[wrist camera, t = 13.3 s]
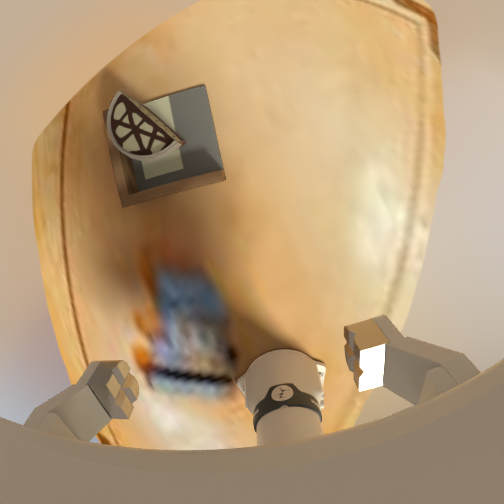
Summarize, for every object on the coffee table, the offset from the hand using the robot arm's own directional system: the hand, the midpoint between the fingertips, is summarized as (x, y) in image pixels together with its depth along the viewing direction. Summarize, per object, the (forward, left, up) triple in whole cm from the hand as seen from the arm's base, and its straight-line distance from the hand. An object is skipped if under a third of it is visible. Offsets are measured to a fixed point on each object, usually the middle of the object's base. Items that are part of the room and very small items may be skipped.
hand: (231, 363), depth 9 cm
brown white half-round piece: (+14, +12, -37) cm, 41 cm away
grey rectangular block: (+13, +10, -37) cm, 41 cm away
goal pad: (+15, +11, -37) cm, 41 cm away
